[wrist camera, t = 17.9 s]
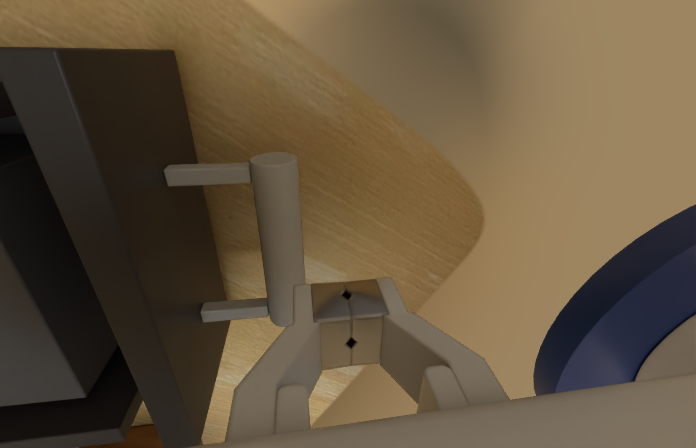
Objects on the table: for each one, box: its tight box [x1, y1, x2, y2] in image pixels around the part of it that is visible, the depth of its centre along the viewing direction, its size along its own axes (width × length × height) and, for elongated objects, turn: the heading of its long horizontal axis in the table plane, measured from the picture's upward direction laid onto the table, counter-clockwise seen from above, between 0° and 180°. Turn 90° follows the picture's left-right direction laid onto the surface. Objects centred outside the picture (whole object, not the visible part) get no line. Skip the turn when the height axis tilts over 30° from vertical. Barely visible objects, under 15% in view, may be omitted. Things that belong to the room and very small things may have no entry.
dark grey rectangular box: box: [0, 134, 119, 406], centre depth 11 cm, size 4×8×5 cm, turn 179°
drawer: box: [0, 47, 305, 448], centre depth 12 cm, size 19×13×7 cm
